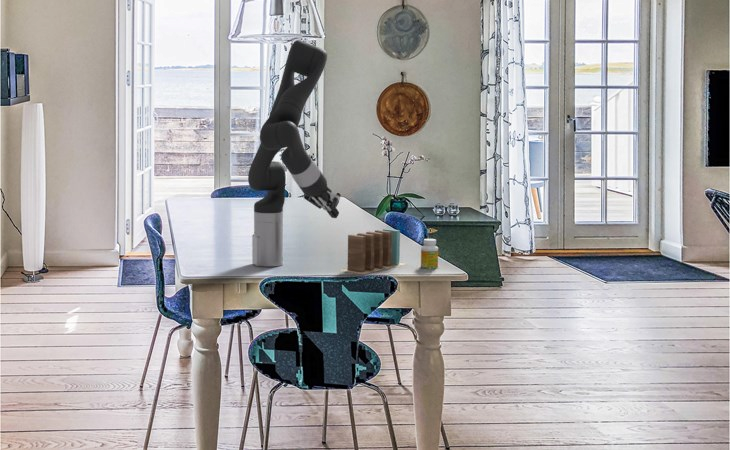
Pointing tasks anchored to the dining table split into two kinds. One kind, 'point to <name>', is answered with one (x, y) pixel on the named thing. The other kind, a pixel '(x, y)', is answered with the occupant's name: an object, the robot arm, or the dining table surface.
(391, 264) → the domino board
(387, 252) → the domino
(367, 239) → the domino
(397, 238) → the domino
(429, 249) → the supplement bottle
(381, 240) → the domino
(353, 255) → the domino
